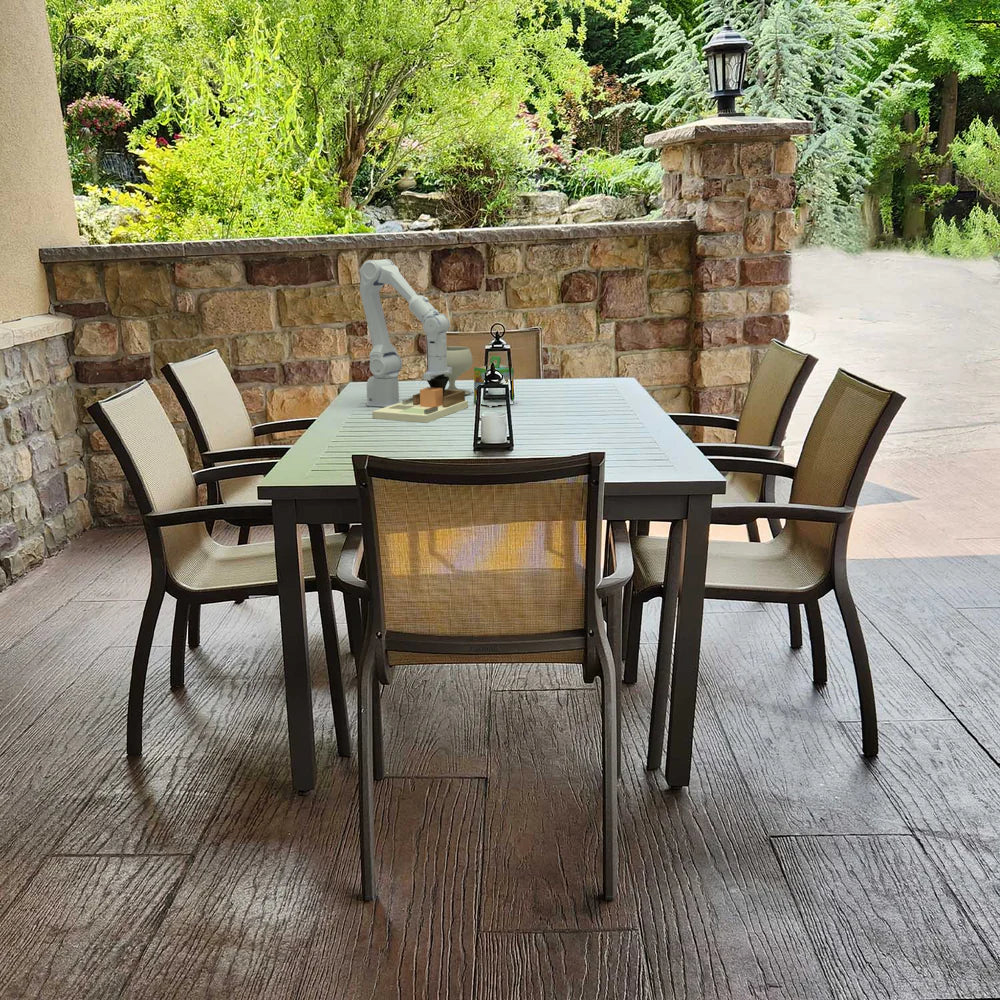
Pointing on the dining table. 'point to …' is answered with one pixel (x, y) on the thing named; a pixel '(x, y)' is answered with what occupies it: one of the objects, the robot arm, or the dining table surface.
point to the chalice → (458, 364)
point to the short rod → (430, 410)
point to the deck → (415, 412)
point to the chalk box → (480, 372)
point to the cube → (431, 397)
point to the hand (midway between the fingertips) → (438, 400)
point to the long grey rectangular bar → (407, 401)
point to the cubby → (445, 398)
